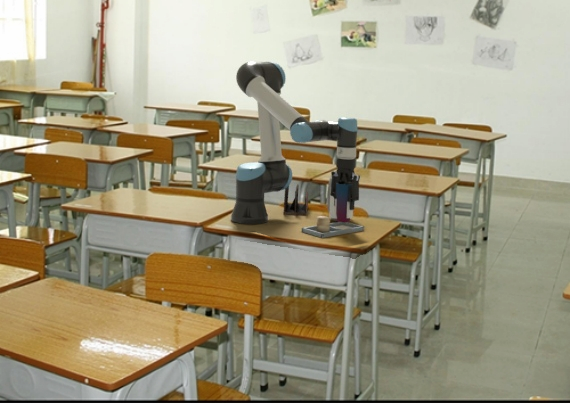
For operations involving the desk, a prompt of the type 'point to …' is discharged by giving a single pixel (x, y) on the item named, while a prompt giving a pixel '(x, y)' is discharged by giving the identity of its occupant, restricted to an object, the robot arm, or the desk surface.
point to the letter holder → (295, 204)
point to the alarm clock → (331, 202)
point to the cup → (342, 202)
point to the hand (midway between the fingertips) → (343, 216)
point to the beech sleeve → (323, 224)
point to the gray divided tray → (334, 229)
